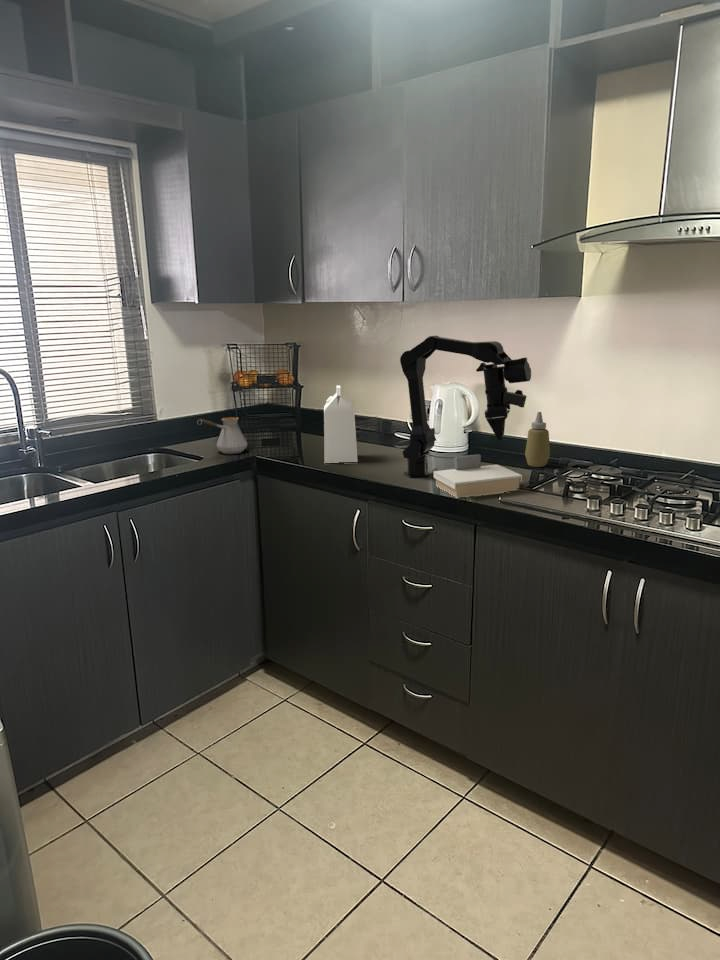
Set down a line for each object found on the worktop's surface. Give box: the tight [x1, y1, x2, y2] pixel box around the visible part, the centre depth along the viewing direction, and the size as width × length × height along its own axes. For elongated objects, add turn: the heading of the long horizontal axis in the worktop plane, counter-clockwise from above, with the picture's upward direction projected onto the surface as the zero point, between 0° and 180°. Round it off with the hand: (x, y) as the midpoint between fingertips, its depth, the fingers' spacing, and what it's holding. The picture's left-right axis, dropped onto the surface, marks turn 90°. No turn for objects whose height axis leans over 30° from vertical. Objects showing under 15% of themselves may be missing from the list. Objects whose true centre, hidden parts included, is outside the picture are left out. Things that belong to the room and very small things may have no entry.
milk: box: [323, 385, 359, 464], centre depth 241 cm, size 12×12×26 cm
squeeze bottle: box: [524, 411, 551, 468], centre depth 228 cm, size 8×8×18 cm
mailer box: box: [435, 478, 520, 499], centre depth 203 cm, size 14×20×4 cm
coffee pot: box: [197, 416, 248, 455], centre depth 255 cm, size 21×12×15 cm, turn 146°
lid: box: [433, 454, 523, 489], centre depth 202 cm, size 14×22×6 cm
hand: (501, 437), depth 204 cm, fingers open, 9 cm apart
